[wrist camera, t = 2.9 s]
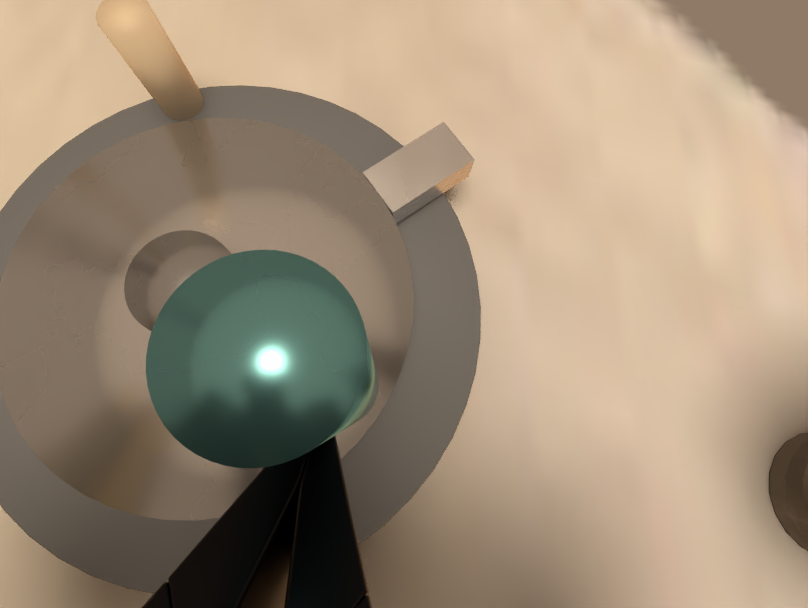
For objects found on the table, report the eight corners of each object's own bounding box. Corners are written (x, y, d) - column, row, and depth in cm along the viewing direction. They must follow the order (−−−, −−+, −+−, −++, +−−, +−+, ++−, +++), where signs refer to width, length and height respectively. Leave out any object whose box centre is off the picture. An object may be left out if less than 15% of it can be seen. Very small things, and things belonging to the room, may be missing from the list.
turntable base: (411, 638, 15) (426, 770, 10) (-102, 503, 15) (-370, 558, 10) (511, 167, 19) (562, 73, 14) (105, 66, 19) (-4, -64, 14)
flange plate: (385, 559, 14) (388, 968, 4) (-46, 457, 14) (-1136, 593, 4) (474, 149, 17) (600, -211, 7) (124, 69, 17) (-236, -395, 7)
